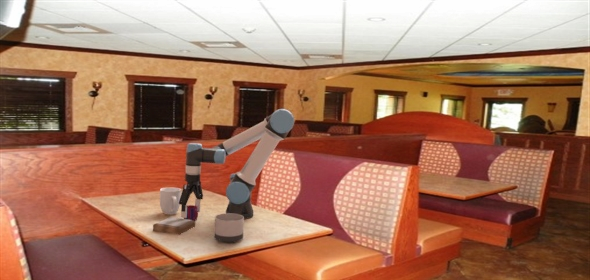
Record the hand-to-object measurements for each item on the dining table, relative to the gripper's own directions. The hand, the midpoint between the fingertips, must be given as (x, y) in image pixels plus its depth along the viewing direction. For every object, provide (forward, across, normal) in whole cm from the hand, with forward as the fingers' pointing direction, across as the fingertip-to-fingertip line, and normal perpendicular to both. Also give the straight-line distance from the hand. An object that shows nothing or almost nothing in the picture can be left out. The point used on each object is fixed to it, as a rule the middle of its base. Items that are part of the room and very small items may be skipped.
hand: (190, 214), depth 218 cm
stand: (+3, +16, +1) cm, 16 cm away
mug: (+4, -7, -16) cm, 18 cm away
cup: (+3, 0, +1) cm, 3 cm away
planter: (+3, +20, +31) cm, 37 cm away
